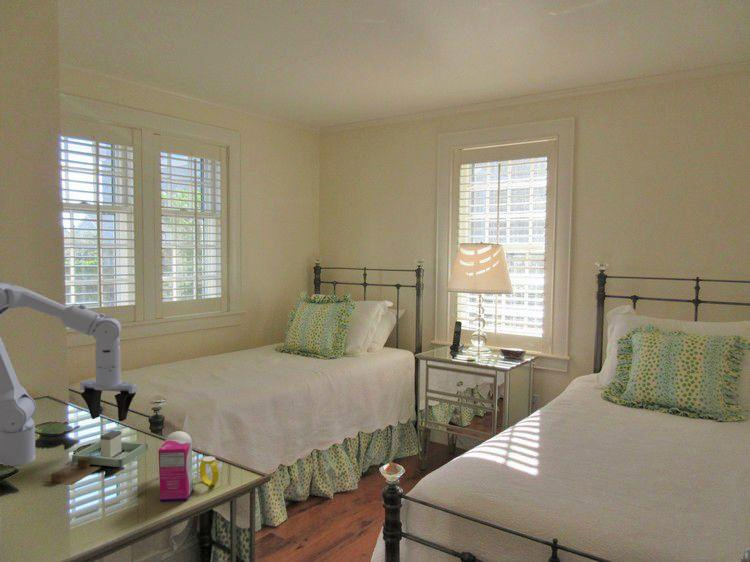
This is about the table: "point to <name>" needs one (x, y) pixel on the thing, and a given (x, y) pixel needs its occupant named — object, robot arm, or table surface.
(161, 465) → the supplement box
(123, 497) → the table surface
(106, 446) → the block
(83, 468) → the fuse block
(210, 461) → the watch
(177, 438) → the lightbulb
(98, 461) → the parts tray
